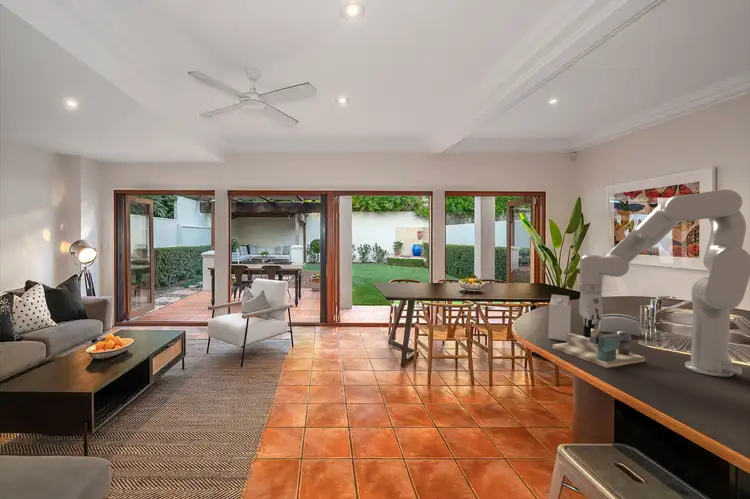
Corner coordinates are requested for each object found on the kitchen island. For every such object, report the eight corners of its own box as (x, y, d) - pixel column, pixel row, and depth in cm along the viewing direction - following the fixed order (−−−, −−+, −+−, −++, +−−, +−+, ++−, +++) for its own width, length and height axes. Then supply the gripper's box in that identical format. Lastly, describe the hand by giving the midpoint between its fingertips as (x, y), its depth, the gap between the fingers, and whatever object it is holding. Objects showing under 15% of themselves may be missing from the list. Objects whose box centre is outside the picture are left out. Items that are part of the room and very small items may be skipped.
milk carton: (552, 335, 177) (553, 293, 176) (570, 338, 172) (571, 295, 171) (548, 338, 171) (549, 295, 170) (565, 341, 167) (567, 297, 166)
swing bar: (622, 337, 149) (622, 323, 148) (633, 340, 145) (634, 326, 144) (586, 343, 142) (587, 328, 142) (597, 346, 138) (598, 330, 137)
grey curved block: (639, 333, 180) (641, 314, 177) (640, 339, 176) (641, 319, 173) (597, 328, 188) (598, 310, 185) (597, 334, 185) (598, 315, 181)
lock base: (644, 361, 142) (645, 336, 141) (606, 367, 135) (607, 342, 134) (587, 343, 164) (587, 322, 164) (552, 348, 157) (552, 325, 157)
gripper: (610, 291, 138) (608, 343, 139) (592, 285, 153) (590, 332, 154) (588, 291, 139) (586, 342, 140) (572, 285, 154) (570, 331, 155)
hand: (588, 336), depth 147 cm, fingers closed
